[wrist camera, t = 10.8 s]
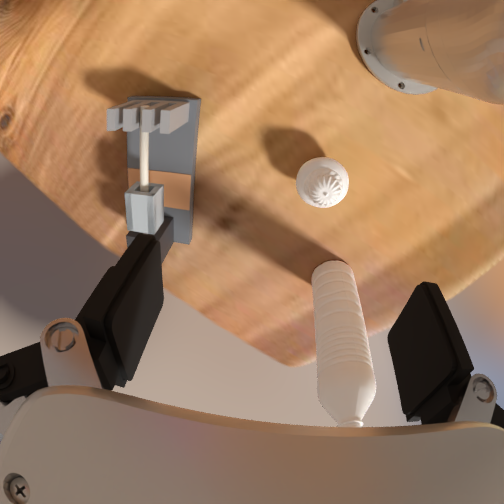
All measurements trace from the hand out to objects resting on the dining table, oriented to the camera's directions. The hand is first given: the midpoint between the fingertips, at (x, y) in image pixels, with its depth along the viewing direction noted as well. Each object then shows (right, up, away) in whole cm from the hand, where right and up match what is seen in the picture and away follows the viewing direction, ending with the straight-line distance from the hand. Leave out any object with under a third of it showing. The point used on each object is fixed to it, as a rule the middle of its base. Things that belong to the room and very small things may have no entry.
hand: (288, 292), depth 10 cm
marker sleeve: (-14, +8, +26) cm, 30 cm away
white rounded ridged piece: (+7, +11, +26) cm, 29 cm away
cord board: (-13, +12, +28) cm, 33 cm away
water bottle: (+12, -3, +35) cm, 37 cm away
